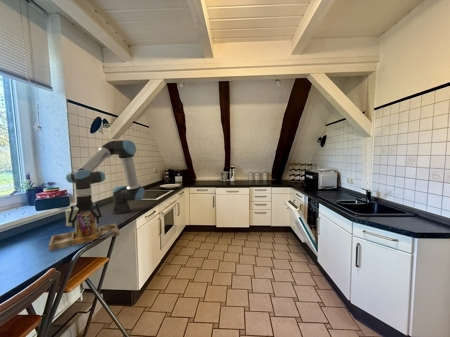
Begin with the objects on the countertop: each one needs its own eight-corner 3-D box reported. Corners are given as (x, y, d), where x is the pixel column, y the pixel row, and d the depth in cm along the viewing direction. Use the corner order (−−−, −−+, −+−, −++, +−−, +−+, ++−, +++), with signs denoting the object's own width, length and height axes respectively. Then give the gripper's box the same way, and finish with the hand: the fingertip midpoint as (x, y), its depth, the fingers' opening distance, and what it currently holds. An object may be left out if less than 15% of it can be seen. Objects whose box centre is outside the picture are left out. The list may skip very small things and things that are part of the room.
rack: (115, 228, 140) (115, 223, 139) (119, 235, 127) (119, 230, 127) (52, 241, 120) (51, 235, 119) (49, 251, 107) (48, 245, 107)
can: (73, 226, 143) (72, 210, 142) (62, 225, 145) (61, 209, 144) (84, 222, 152) (83, 207, 151) (74, 221, 154) (73, 206, 153)
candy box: (93, 233, 128) (92, 209, 127) (96, 234, 125) (95, 211, 124) (76, 237, 121) (75, 213, 120) (79, 239, 119) (77, 214, 118)
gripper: (104, 192, 131) (106, 224, 133) (60, 196, 118) (63, 233, 120) (105, 193, 125) (107, 228, 127) (59, 199, 112) (63, 237, 114)
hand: (86, 230), depth 123 cm, fingers open, 10 cm apart
